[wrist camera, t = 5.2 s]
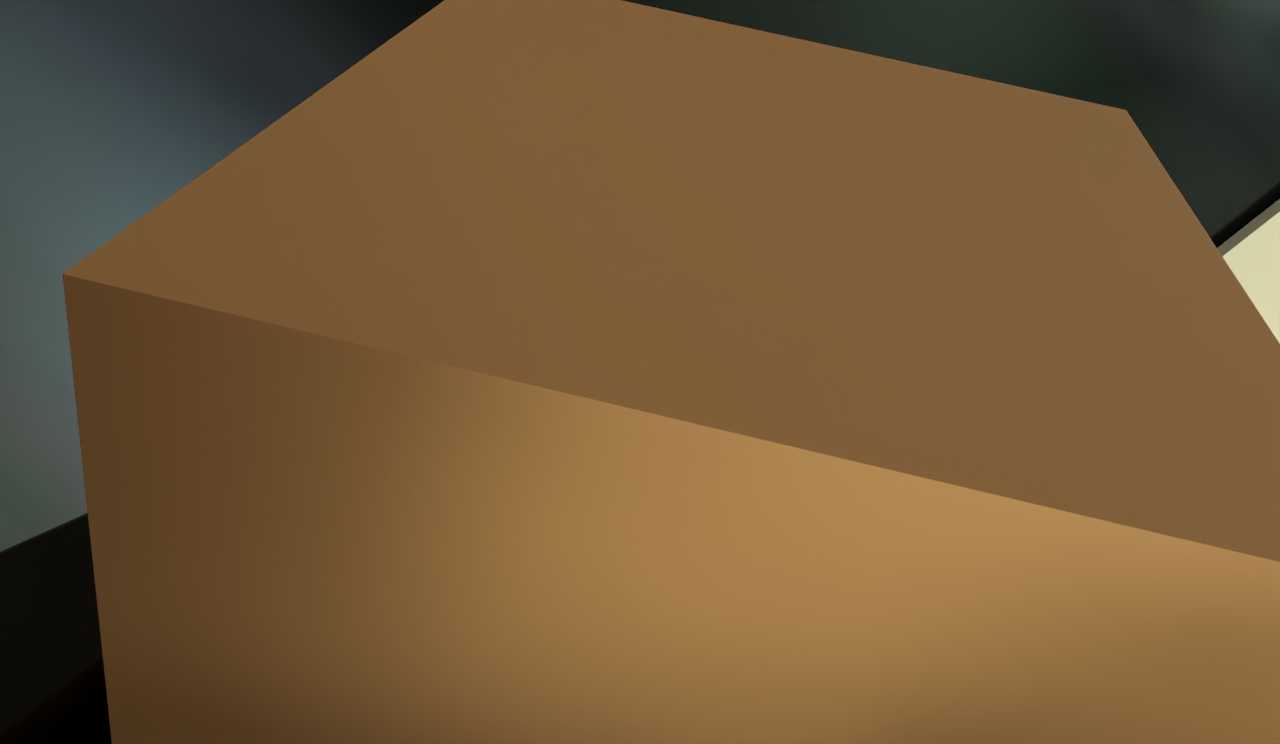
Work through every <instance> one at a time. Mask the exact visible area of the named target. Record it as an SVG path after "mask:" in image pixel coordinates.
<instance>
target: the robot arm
mask: <svg viewBox="0 0 1280 744" xmlns="http://www.w3.org/2000/svg"><path fill="white" fill-rule="evenodd" d="M0 744H112V740H111V730H110V721H109V711H108V702H107V692H106V683H105V673H104V663H103V654H102V644H101V635H100V625H99V616H98V606H97V597H96V587H95V578H94V568H93V559H92V549H91V540H90V530H89V521H88V513H86V514H84V515H82V516H79V517H77V518H75V519H73V520H70V521H68V522H66V523H64V524H61V525H59V526H57V527H55V528H52V529H50V530H48V531H46V532H43V533H41V534H39V535H37V536H34V537H32V538H30V539H28V540H26V541H23V542H21V543H19V544H17V545H14V546H12V547H10V548H8V549H5V550H3V551H1V552H0Z"/></svg>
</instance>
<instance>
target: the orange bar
mask: <svg viewBox="0 0 1280 744" xmlns="http://www.w3.org/2000/svg"><path fill="white" fill-rule="evenodd" d="M63 282H64V292H65V301H66V311H67V321H68V330H69V340H70V349H71V359H72V368H73V378H74V387H75V397H76V406H77V416H78V425H79V435H80V444H81V454H82V463H83V473H84V482H85V492H86V502H87V511H88V521H89V530H90V540H91V549H92V559H93V568H94V578H95V587H96V597H97V606H98V616H99V625H100V635H101V644H102V654H103V663H104V673H105V683H106V692H107V702H108V711H109V721H110V730H111V740H112V744H1280V343H1279V342H1278V340H1277V339H1276V337H1275V336H1274V334H1273V333H1272V331H1271V330H1270V328H1269V327H1268V325H1267V324H1266V322H1265V321H1264V319H1263V318H1262V316H1261V314H1260V313H1259V311H1258V310H1257V308H1256V307H1255V305H1254V304H1253V302H1252V301H1251V299H1250V298H1249V296H1248V295H1247V293H1246V292H1245V290H1244V289H1243V287H1242V286H1241V284H1240V283H1239V281H1238V280H1237V278H1236V276H1235V275H1234V273H1233V272H1232V270H1231V269H1230V267H1229V266H1228V264H1227V263H1226V261H1225V260H1224V258H1223V257H1222V255H1221V254H1220V252H1219V251H1218V249H1217V248H1216V246H1215V245H1214V243H1213V242H1212V240H1211V238H1210V237H1209V235H1208V234H1207V232H1206V231H1205V229H1204V228H1203V226H1202V225H1201V223H1200V222H1199V220H1198V219H1197V217H1196V216H1195V214H1194V213H1193V211H1192V210H1191V208H1190V207H1189V205H1188V204H1187V202H1186V200H1185V199H1184V197H1183V196H1182V194H1181V193H1180V191H1179V190H1178V188H1177V187H1176V185H1175V184H1174V182H1173V181H1172V179H1171V178H1170V176H1169V175H1168V173H1167V172H1166V170H1165V169H1164V167H1163V165H1162V164H1161V162H1160V161H1159V159H1158V158H1157V156H1156V155H1155V153H1154V152H1153V150H1152V149H1151V147H1150V146H1149V144H1148V143H1147V141H1146V140H1145V138H1144V137H1143V135H1142V134H1141V132H1140V131H1139V129H1138V127H1137V126H1136V124H1135V123H1134V121H1133V120H1132V118H1131V117H1130V115H1129V114H1128V112H1127V111H1126V110H1123V109H1118V108H1114V107H1109V106H1105V105H1100V104H1095V103H1091V102H1086V101H1082V100H1077V99H1072V98H1068V97H1063V96H1059V95H1054V94H1050V93H1045V92H1040V91H1036V90H1031V89H1027V88H1022V87H1017V86H1013V85H1008V84H1004V83H999V82H994V81H990V80H985V79H981V78H976V77H971V76H967V75H962V74H958V73H953V72H948V71H944V70H939V69H935V68H930V67H925V66H921V65H916V64H912V63H907V62H902V61H898V60H893V59H889V58H884V57H880V56H875V55H870V54H866V53H861V52H857V51H852V50H847V49H843V48H838V47H834V46H829V45H824V44H820V43H815V42H811V41H806V40H801V39H797V38H792V37H788V36H783V35H778V34H774V33H769V32H765V31H760V30H755V29H751V28H746V27H742V26H737V25H733V24H728V23H723V22H719V21H714V20H710V19H705V18H700V17H696V16H691V15H687V14H682V13H677V12H673V11H668V10H664V9H659V8H654V7H650V6H645V5H641V4H636V3H631V2H627V1H622V0H444V1H443V2H441V3H440V4H439V5H437V6H436V7H434V8H433V9H432V10H430V11H429V12H427V13H426V14H425V15H423V16H422V17H421V18H419V19H418V20H416V21H415V22H414V23H412V24H411V25H409V26H408V27H407V28H405V29H404V30H402V31H401V32H400V33H398V34H397V35H395V36H394V37H393V38H391V39H390V40H388V41H387V42H386V43H384V44H383V45H381V46H380V47H379V48H377V49H376V50H374V51H373V52H372V53H370V54H369V55H367V56H366V57H365V58H363V59H362V60H361V61H359V62H358V63H356V64H355V65H354V66H352V67H351V68H349V69H348V70H347V71H345V72H344V73H342V74H341V75H340V76H338V77H337V78H335V79H334V80H333V81H331V82H330V83H328V84H327V85H326V86H324V87H323V88H321V89H320V90H319V91H317V92H316V93H314V94H313V95H312V96H310V97H309V98H308V99H306V100H305V101H303V102H302V103H301V104H299V105H298V106H296V107H295V108H294V109H292V110H291V111H289V112H288V113H287V114H285V115H284V116H282V117H281V118H280V119H278V120H277V121H275V122H274V123H273V124H271V125H270V126H268V127H267V128H266V129H264V130H263V131H261V132H260V133H259V134H257V135H256V136H255V137H253V138H252V139H250V140H249V141H248V142H246V143H245V144H243V145H242V146H241V147H239V148H238V149H236V150H235V151H234V152H232V153H231V154H229V155H228V156H227V157H225V158H224V159H222V160H221V161H220V162H218V163H217V164H215V165H214V166H213V167H211V168H210V169H208V170H207V171H206V172H204V173H203V174H201V175H200V176H199V177H197V178H196V179H195V180H193V181H192V182H190V183H189V184H188V185H186V186H185V187H183V188H182V189H181V190H179V191H178V192H176V193H175V194H174V195H172V196H171V197H169V198H168V199H167V200H165V201H164V202H162V203H161V204H160V205H158V206H157V207H155V208H154V209H153V210H151V211H150V212H148V213H147V214H146V215H144V216H143V217H142V218H140V219H139V220H137V221H136V222H135V223H133V224H132V225H130V226H129V227H128V228H126V229H125V230H123V231H122V232H121V233H119V234H118V235H116V236H115V237H114V238H112V239H111V240H109V241H108V242H107V243H105V244H104V245H102V246H101V247H100V248H98V249H97V250H95V251H94V252H93V253H91V254H90V255H88V256H87V257H86V258H84V259H83V260H82V261H80V262H79V263H77V264H76V265H75V266H73V267H72V268H70V269H69V270H68V271H66V272H65V273H63Z"/></svg>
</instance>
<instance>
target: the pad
mask: <svg viewBox="0 0 1280 744" xmlns="http://www.w3.org/2000/svg"><path fill="white" fill-rule="evenodd" d="M1217 249H1218V251H1219V252H1220V254H1221V255H1222V257H1223V258H1224V260H1225V261H1226V263H1227V264H1228V266H1229V267H1230V269H1231V270H1232V272H1233V273H1234V275H1235V276H1236V278H1237V280H1238V281H1239V283H1240V284H1241V286H1242V287H1243V289H1244V290H1245V292H1246V293H1247V295H1248V296H1249V298H1250V299H1251V301H1252V302H1253V304H1254V305H1255V307H1256V308H1257V310H1258V311H1259V313H1260V314H1261V316H1262V318H1263V319H1264V321H1265V322H1266V324H1267V325H1268V327H1269V328H1270V330H1271V331H1272V333H1273V334H1274V336H1275V337H1276V339H1277V340H1278V342H1279V343H1280V199H1279V200H1277V201H1276V202H1275V203H1274V204H1272V205H1271V206H1270V207H1269V208H1267V209H1266V210H1265V211H1263V212H1262V213H1261V214H1260V215H1258V216H1257V217H1256V218H1255V219H1253V220H1252V221H1251V222H1250V223H1248V224H1247V225H1246V226H1244V227H1243V228H1242V229H1241V230H1239V231H1238V232H1237V233H1236V234H1234V235H1233V236H1232V237H1231V238H1229V239H1228V240H1227V241H1226V242H1224V243H1223V244H1222V245H1220V246H1219V247H1218V248H1217Z"/></svg>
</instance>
